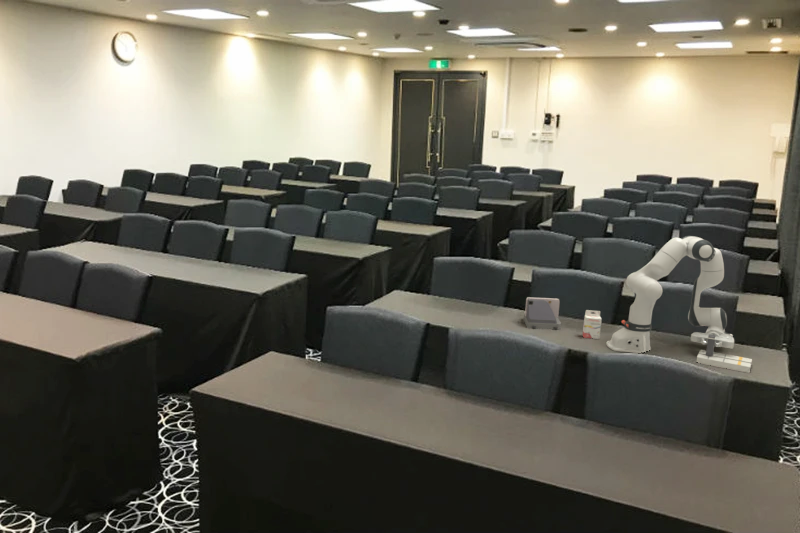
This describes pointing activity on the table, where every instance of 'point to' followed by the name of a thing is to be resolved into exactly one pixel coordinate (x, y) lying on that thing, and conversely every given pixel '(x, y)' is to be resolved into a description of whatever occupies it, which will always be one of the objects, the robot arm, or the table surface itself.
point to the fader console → (725, 361)
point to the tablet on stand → (542, 313)
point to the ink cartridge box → (592, 324)
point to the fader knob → (710, 345)
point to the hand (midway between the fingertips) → (710, 344)
